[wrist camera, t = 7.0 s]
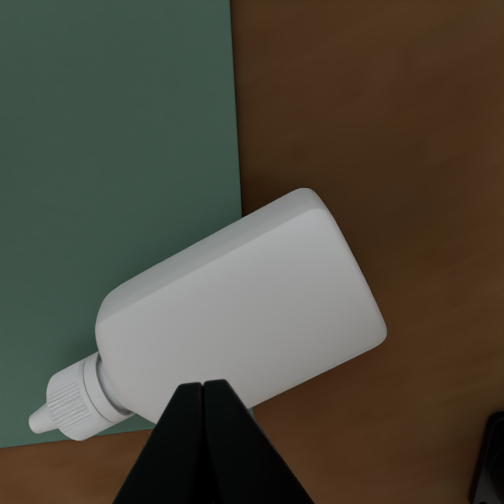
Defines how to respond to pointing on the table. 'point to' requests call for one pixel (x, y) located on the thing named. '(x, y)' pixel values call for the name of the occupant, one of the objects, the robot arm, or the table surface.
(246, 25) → the table surface
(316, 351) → the eye dropper bottle
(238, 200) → the mat
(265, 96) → the table surface
